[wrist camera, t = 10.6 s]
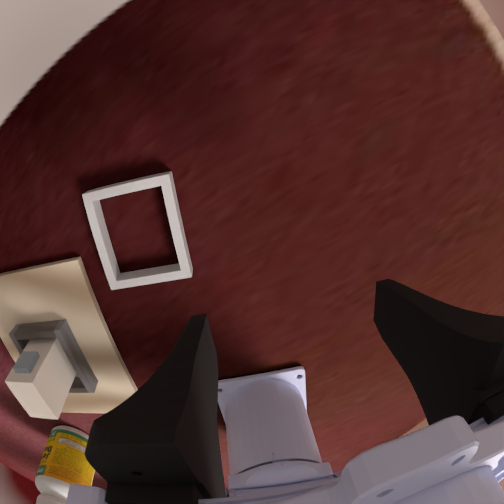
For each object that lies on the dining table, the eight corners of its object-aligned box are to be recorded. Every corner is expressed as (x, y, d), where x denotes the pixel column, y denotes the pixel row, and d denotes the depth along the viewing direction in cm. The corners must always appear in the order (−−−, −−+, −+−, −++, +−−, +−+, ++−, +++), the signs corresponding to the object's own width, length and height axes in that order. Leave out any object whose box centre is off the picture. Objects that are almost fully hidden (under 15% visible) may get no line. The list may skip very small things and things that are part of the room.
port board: (147, 407, 27) (144, 423, 25) (50, 407, 26) (44, 421, 24) (80, 256, 20) (69, 269, 19) (-23, 278, 20) (-36, 290, 18)
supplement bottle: (96, 458, 31) (82, 531, 20) (51, 439, 29) (30, 510, 19) (103, 437, 29) (87, 521, 18) (52, 416, 27) (26, 496, 17)
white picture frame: (192, 269, 22) (191, 277, 21) (115, 281, 22) (111, 290, 20) (171, 170, 19) (168, 174, 18) (88, 190, 19) (81, 194, 18)
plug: (78, 369, 24) (58, 419, 18) (52, 369, 24) (30, 416, 18) (57, 327, 22) (28, 377, 16) (31, 329, 22) (1, 376, 16)
